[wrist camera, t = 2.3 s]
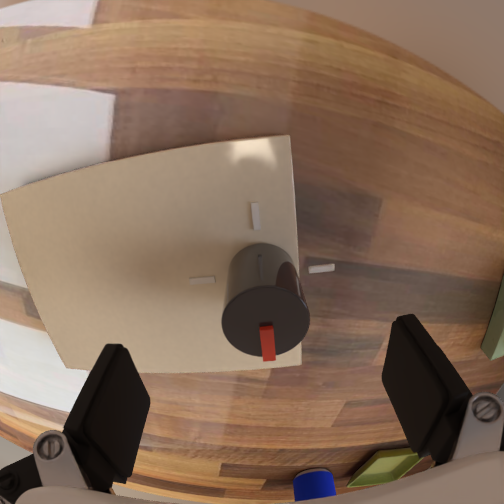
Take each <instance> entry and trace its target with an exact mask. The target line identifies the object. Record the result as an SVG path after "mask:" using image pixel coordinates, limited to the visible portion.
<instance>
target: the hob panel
mask: <svg viewBox="0 0 504 504" xmlns="http://www.w3.org/2000/svg"><path fill="white" fill-rule="evenodd" d="M0 197H1V202H2V206H3V210H4V214H5V218H6V222H7V226H8V229H9V233H10V236H11V240H12V243H13V246H14V250H15V253H16V256H17V259H18V262H19V265H20V267H21V270H22V273H23V276H24V279H25V281H26V284H27V286H28V289H29V291H30V294H31V296H32V299H33V301H34V304H35V306H36V308H37V311H38V313H39V315H40V317H41V320H42V322H43V324H44V326H45V328H46V330H47V332H48V334H49V336H50V338H51V340H52V342H53V344H54V346H55V348H56V350H57V352H58V354H59V356H60V358H61V360H62V361H63V363H64V365H65V367H66V368H70V369H80V370H92V368H93V366H94V364H95V363H96V361H97V359H98V357H99V355H100V353H101V351H102V350H103V348H104V346H105V345H106V344H108V343H110V344H122V345H123V346H124V347H125V348H127V349H128V350H129V353H130V355H131V357H132V360H133V362H134V364H135V367H136V369H137V371H138V373H205V372H227V371H243V370H256V369H268V368H278V367H287V366H296V365H301V364H302V353H301V342H300V343H299V344H298V345H297V346H296V347H294V348H293V349H291V350H290V351H288V352H286V353H283V354H280V355H276V361H266V362H263V357H257V356H252V355H248V354H245V353H243V352H241V351H239V350H238V349H236V348H235V347H233V346H232V345H231V344H230V343H229V341H228V340H227V339H226V337H225V335H224V333H223V330H222V325H221V318H222V310H223V303H224V295H225V288H226V281H227V273H228V268H229V265H230V262H231V260H232V259H233V257H234V256H235V255H236V254H237V253H238V252H239V251H240V250H242V249H243V248H245V247H247V246H249V245H253V244H258V243H267V244H272V245H275V246H278V247H280V248H282V249H283V250H285V251H286V252H287V253H288V254H289V255H290V257H291V258H292V260H293V262H294V264H295V267H296V270H297V274H298V277H299V256H298V237H297V220H296V204H295V190H294V177H293V164H292V152H291V141H290V136H289V135H284V134H278V135H266V136H255V137H245V138H236V139H228V140H220V141H213V142H206V143H199V144H192V145H186V146H180V147H174V148H168V149H163V150H157V151H152V152H147V153H142V154H137V155H132V156H128V157H123V158H119V159H114V160H110V161H106V162H102V163H98V164H94V165H90V166H86V167H82V168H78V169H75V170H71V171H68V172H64V173H61V174H57V175H54V176H50V177H47V178H44V179H41V180H38V181H35V182H31V183H28V184H25V185H23V186H20V187H18V188H15V189H12V190H10V191H7V192H5V193H3V194H1V195H0ZM334 270H335V265H334V264H326V265H316V266H309V273H318V272H327V271H334ZM299 280H300V278H299Z"/></svg>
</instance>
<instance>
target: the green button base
mask: <svg viewBox="0 0 504 504" xmlns="http://www.w3.org/2000/svg"><path fill="white" fill-rule="evenodd" d="M481 349H482V350H483V352H484V353H485V354H486V355H487V357H488V358H489V359H490V360H493V359H496V358H498V357H501V356H503V355H504V275H503V279H502V283H501V287H500V291H499V294H498V298H497V301H496V305H495V308H494V311H493V314H492V317H491V320H490V323H489V326H488V329H487V332H486V335H485V338H484V340H483V343H482V346H481Z"/></svg>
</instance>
